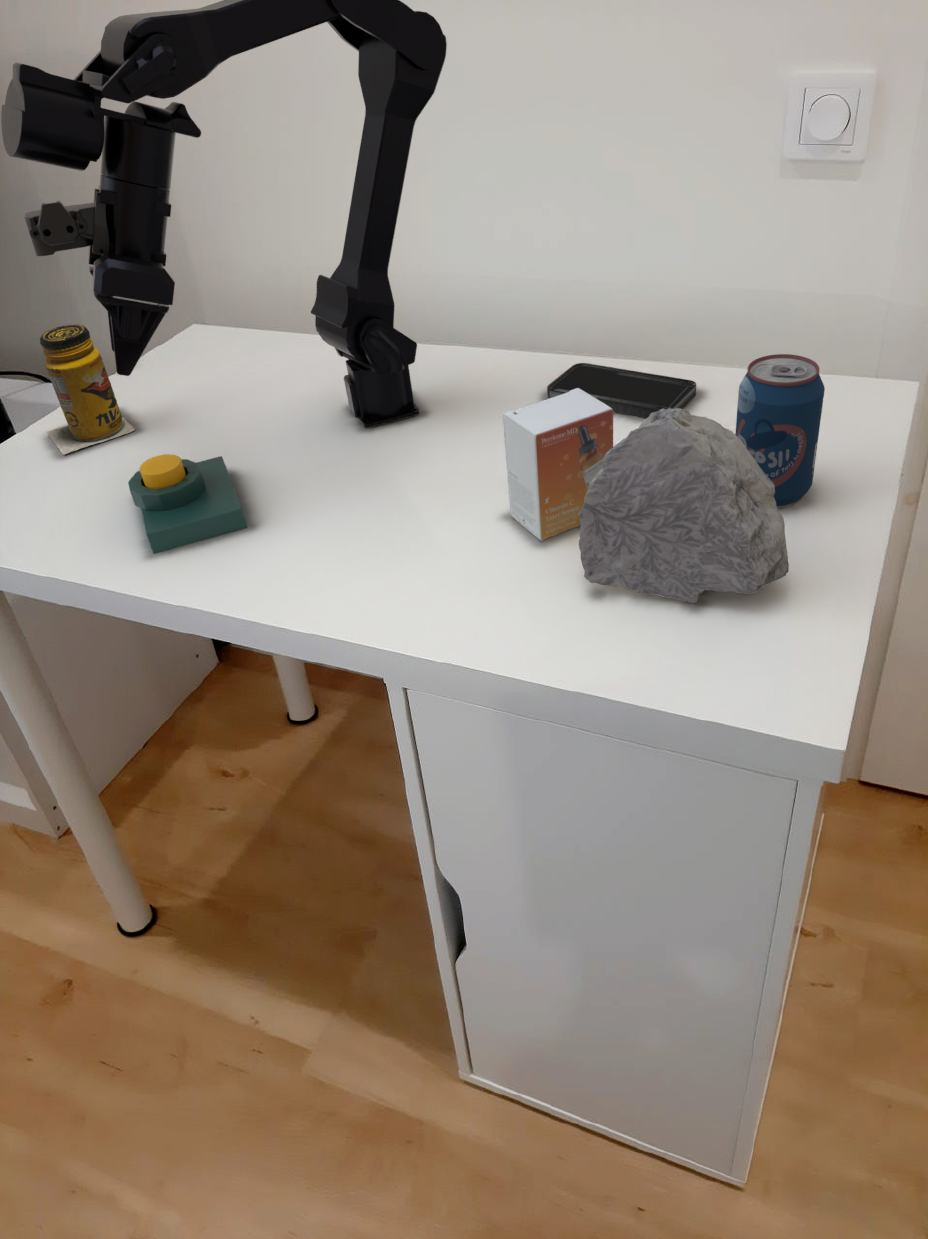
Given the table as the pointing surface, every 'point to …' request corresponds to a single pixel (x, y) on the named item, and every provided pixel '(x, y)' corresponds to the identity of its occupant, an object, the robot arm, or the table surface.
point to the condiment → (81, 389)
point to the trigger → (162, 471)
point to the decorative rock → (682, 513)
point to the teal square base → (189, 506)
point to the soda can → (782, 421)
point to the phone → (625, 388)
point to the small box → (554, 459)
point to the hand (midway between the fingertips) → (120, 363)
